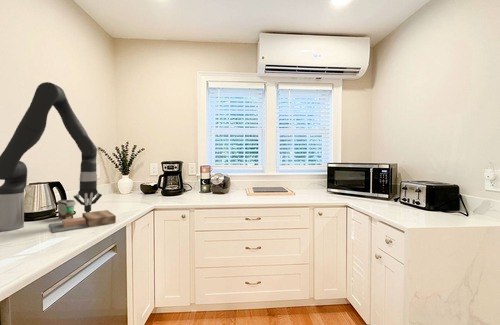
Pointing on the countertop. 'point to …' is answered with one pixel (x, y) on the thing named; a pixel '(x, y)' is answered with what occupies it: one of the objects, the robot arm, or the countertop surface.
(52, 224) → the mat
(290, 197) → the countertop surface
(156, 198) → the countertop surface
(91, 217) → the board
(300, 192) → the countertop surface
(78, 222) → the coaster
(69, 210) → the food container
